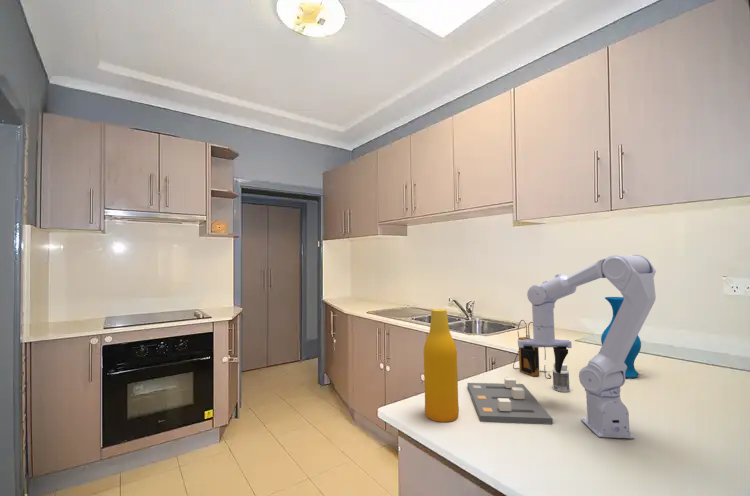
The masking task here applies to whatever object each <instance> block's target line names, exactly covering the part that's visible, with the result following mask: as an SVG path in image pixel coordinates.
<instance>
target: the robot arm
mask: <svg viewBox="0 0 750 496" xmlns="http://www.w3.org/2000/svg"><path fill="white" fill-rule="evenodd" d="M656 272H657V270H656V268H655V267H654V265H653V264H652V262H651V261H650V260H649V258H647V257H646V256H643V255H640V254H632V255H620V254H619V255H618V254H613V255H610V256H608V257H606V258H602V259H599V260H597V261H596V262H593V263H592V264H590V265H588V266H587V267H585V268H582V269H580V270H578V271H577V272H575V273H573V274H571V275H568V274H565V273H564V274H563V273H558V274H555V275H554V278H551V279H549V280H543V281H542V284H540V285H538V284H533V285H532V286H530V287H529V288H528V290H527V293H526V295H527V300H528V301H529V302H530V303H531V310H532V322H533V323H532V332H533V333H532V336H533V338H530V339H525V340H518V339H517V347H518V348H519V347H520V348H522V349H523V351H524V353H525V355H526V357H527V359H528V362H529V365H530V370H531V372H532V373H535V351H534V349H533V347H538V348H544V347H545V348H553V355H554V363H555V371H556V372H557V373H561V368H562V364H563V363H565V362H564V361H565V360H566V357H567V356H568V354H569V349H572V348H573V347H572V345H573V344H572V341H571V340H570V339H569V340H568V339H556V338H555V335H556V334H555V319H554V318H555V317H554V316H555V314H554V310H555V303H556V302H557V301H558V300H560V299H562V298H564V297H567V296H570V295H572V294H574V293H575V292H576V291H577V287H580V286H582V285H585V284H588V283H590V282H594V281H596V280H598V279H599V280H600V279H607V280H608V281H609V282H610V283H611V284H612V285H613V286H614V287H615V288H616V289H617V290H618V291H619V292H620V294H621V295H622V297H624V300H623V302H622V304H621V307H620V309H619V311H618V313H617V315H616V317H615V319H614V321H613V323H612V326H611V328H610V330H609V332H608V334H607V336H606V338H605V340H604V343H603V345H602V344H601V347H600V348H599V351H598V353H597V354H596V355H594V356H593V357H592V358H591V359H589V361H588V363H587V365H586V366H584V367H582V368H581V369H580V370H579V374H578V378H579V379H578V380H579V383H580V384H581V386H582V387H583V389H584V392H585V393H586V395H585V396H586V397H585V398H586V417H587V418H586V417H581V418H580V420H581V422H582V423H584V424H585V425H586V427H588V429H589V430H591V431H592V433H594V434H595V435H596V436H597V437H598V438H611V439H613V438H615V439H634V438H635V435H633V434H632V433H631V431H630V430H631V429H630V417H629V415H630V414H629V410H628V408H627V406H626V405H625V404H624V403H623V402H622V399H621V387H623V386H624V385H625V383H626V378H625V371H626V369H627V366H626V364H625V363H624V361H625V359H626V357H627V355H628V353H629V351H630V349H631V347H632V345H633V343H634V341H635V339H636V337H637V335H638V336H639V333H640V331H641V330H642V327H643V326H644V323H645V322H646V319H647V318H648V316H649V313H650V312H651V310H652V308H653V306H654V304H655V301H656V288H655V287H656V286H655V279H654V277H655V275H656Z"/></svg>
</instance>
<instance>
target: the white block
mask: <svg viewBox="0 0 750 496" xmlns="http://www.w3.org/2000/svg"><path fill="white" fill-rule="evenodd" d="M497 399H498V409H499V410H500V411H511V401H510V400H509V398H497Z"/></svg>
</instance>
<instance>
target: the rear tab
mask: <svg viewBox="0 0 750 496" xmlns="http://www.w3.org/2000/svg"><path fill="white" fill-rule="evenodd" d="M503 382H504V384H505V387H506V388H512V387H515V388H516V384H517V380H516V378H514V377H504V381H503Z"/></svg>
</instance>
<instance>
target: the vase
mask: <svg viewBox="0 0 750 496" xmlns="http://www.w3.org/2000/svg"><path fill="white" fill-rule="evenodd" d="M604 299H605V300H606V301H607V302H608V303H609V305H610V306H611V309H612V319H611V321H610V322H609V324H608V325H607V327H606V328H605V329H604V330H603V332H602V334H601V337H600V343H601V346H602V345H603V343H604V340H605V338H606V336H607V334H608V332H609V330H610V328H611V326H612V323H613V321H614V319H615V317H616V315H617V313H618V311H619V309H620V307H621V304H622V302H623V300H624V297H623V296H606V297H605V296H604ZM641 349H642V341H641V338H640V336H639V334H638V335H637V337H636V339H635V341H634V343H633V345H632V347H631V349H630V351H629V353H628V355H627V357H626V359H625V361H624V363H625V364H626V366H627V369H626V371H625V379H627V378H629V379H632V378H633V379H634V378H637V377H639V376H640V374H639V372H638V371H637V370H636V369H635V360H636V358H637V357H638V355H639V353H640V351H641Z"/></svg>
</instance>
